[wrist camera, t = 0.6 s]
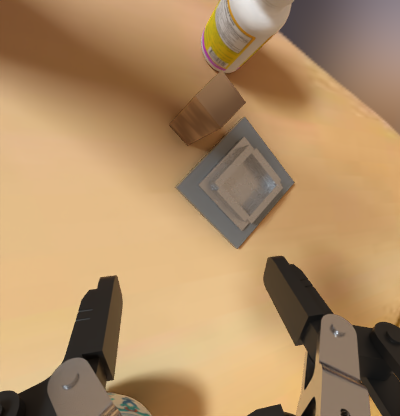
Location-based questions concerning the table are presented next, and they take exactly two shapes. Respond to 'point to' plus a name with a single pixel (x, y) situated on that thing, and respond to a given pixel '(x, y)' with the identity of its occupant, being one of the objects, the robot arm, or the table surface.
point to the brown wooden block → (208, 110)
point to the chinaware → (128, 405)
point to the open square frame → (241, 184)
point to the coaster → (190, 182)
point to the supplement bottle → (241, 30)
